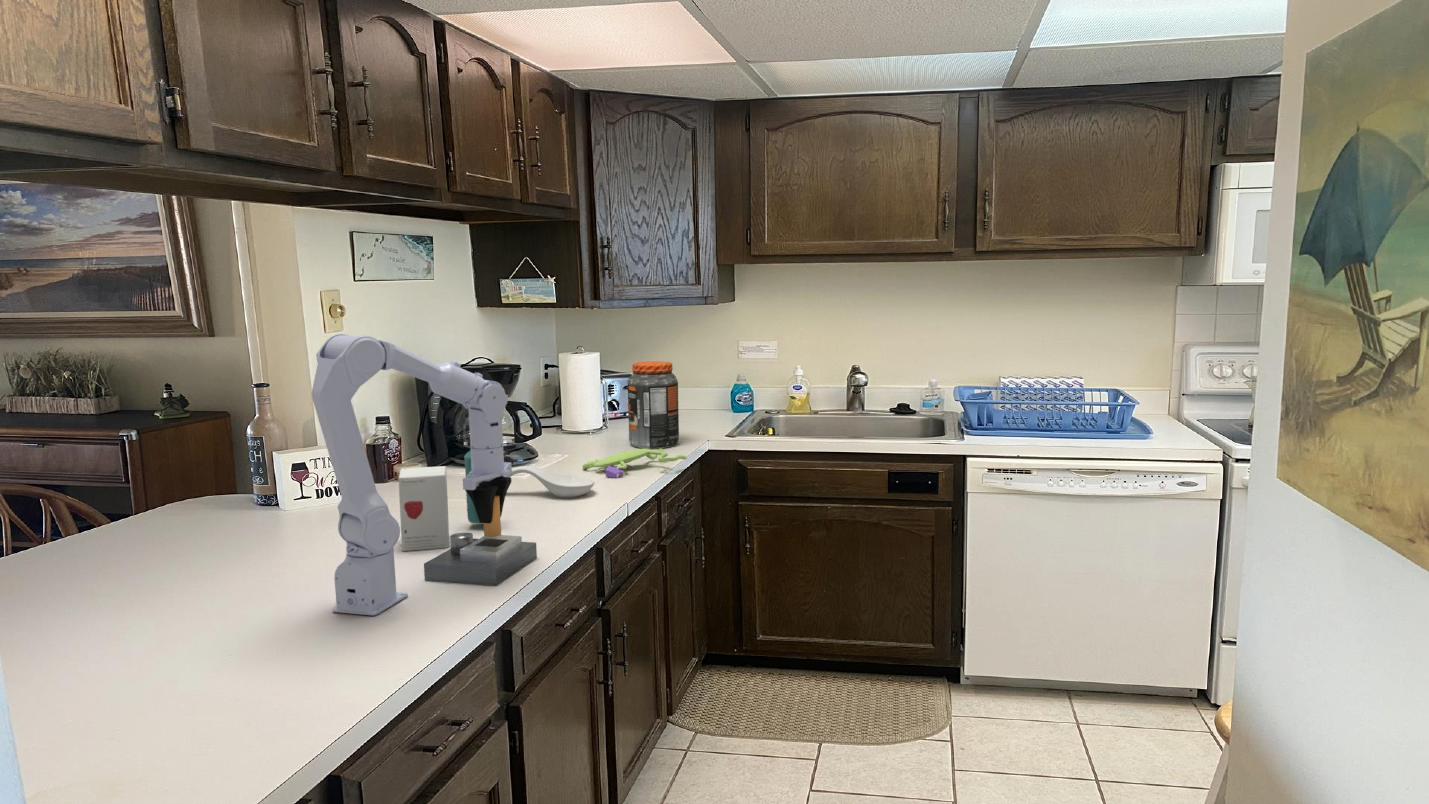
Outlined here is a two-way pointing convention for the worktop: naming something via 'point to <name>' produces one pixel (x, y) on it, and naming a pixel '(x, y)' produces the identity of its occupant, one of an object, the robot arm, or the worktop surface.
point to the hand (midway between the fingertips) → (490, 520)
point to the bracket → (491, 548)
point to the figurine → (628, 460)
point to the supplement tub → (653, 405)
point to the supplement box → (423, 508)
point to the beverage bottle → (470, 506)
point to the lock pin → (494, 521)
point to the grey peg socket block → (476, 564)
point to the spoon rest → (558, 481)
